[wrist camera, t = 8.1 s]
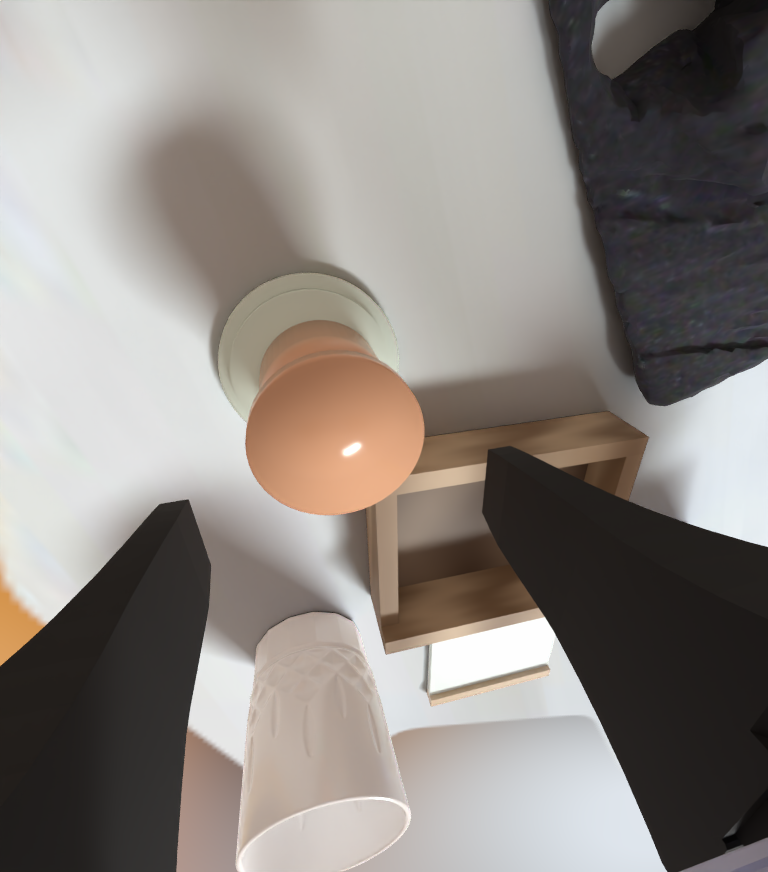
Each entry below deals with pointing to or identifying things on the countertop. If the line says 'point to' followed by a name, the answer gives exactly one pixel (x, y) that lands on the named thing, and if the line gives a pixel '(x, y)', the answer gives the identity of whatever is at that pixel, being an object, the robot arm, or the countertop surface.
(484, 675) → the frame lid
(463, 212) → the countertop surface
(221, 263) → the countertop surface
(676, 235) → the dark slate chunk
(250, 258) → the countertop surface
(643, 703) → the robot arm
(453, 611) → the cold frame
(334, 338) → the tan bell-shaped knob
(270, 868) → the white cup
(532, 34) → the countertop surface
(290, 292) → the saucer
